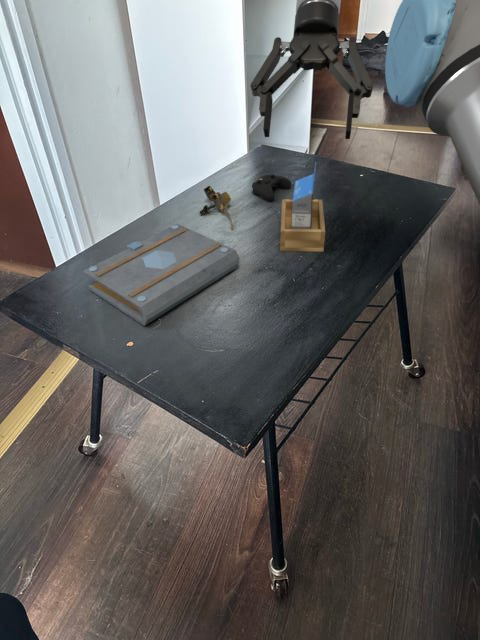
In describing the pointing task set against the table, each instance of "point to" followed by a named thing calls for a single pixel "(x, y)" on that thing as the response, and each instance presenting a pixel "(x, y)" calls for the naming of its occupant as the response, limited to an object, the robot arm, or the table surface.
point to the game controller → (269, 186)
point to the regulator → (217, 202)
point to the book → (161, 272)
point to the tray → (302, 230)
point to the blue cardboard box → (303, 202)
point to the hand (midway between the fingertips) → (306, 134)
